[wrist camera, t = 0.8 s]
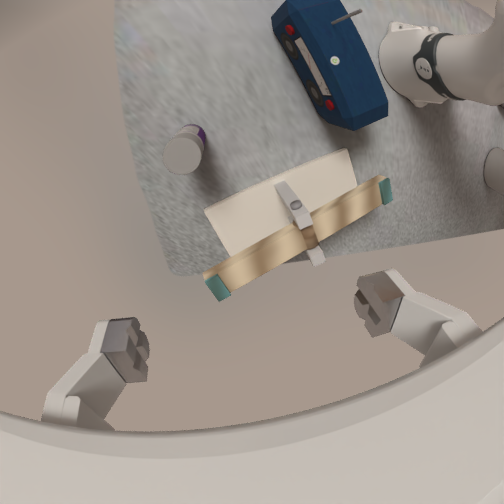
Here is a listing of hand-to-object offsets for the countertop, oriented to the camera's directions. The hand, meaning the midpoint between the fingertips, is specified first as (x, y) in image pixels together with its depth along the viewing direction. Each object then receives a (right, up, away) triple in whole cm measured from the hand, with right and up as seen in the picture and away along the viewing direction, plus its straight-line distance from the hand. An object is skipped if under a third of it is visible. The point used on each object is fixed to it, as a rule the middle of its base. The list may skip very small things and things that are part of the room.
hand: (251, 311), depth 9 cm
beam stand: (+6, +11, +40) cm, 42 cm away
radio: (+10, +34, +27) cm, 44 cm away
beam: (+8, +6, +31) cm, 33 cm away
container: (-10, +21, +32) cm, 39 cm away
